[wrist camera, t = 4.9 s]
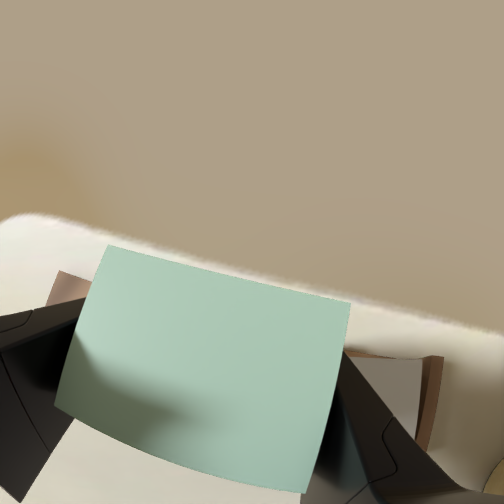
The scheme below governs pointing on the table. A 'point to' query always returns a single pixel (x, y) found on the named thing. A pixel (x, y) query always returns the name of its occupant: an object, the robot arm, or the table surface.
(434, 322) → the table surface
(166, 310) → the mint green block
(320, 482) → the robot arm
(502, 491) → the plant pot
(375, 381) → the grey offcut slab
